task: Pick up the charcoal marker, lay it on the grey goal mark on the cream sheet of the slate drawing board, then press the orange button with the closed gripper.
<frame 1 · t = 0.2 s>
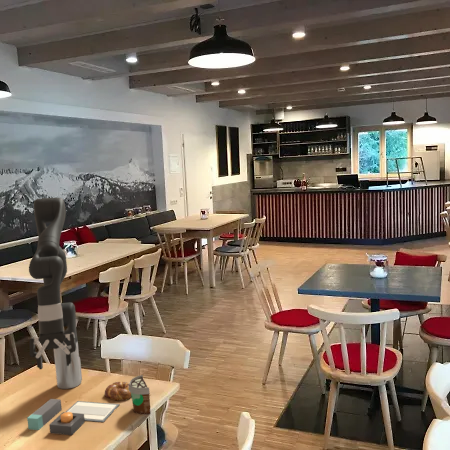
hand: (54, 367, 159), 21 cm above the table, tool pointing down, fingers open, 8 cm apart
done button: (66, 418, 162), point 3 cm above the table, slide at 0.0 cm
pretzel: (120, 395, 184), on the table
drawing board: (90, 411, 172), on the table
food container: (139, 410, 172), on the table
button housing: (67, 427, 162), on the table
marker: (47, 417, 170), on the table
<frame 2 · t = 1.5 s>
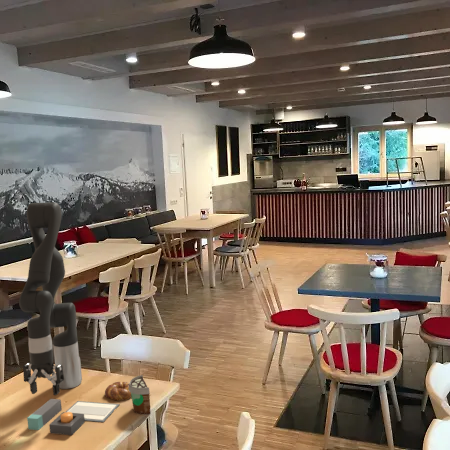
hand: (45, 393, 168), 9 cm above the table, tool pointing down, fingers open, 8 cm apart
nothing on the table moved.
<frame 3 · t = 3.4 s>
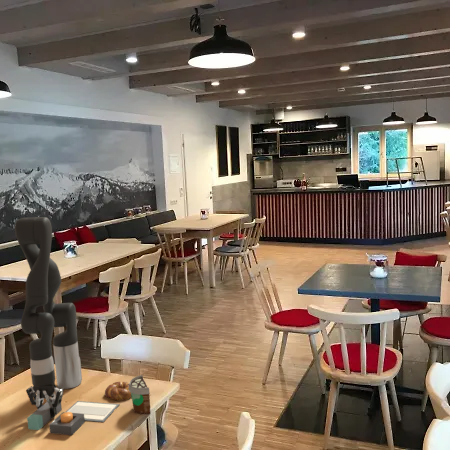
hand: (47, 416, 169), 0 cm above the table, tool pointing down, fingers closed on marker, 4 cm apart
marker: (47, 417, 169), on the table, touching gripper
everything else where it was.
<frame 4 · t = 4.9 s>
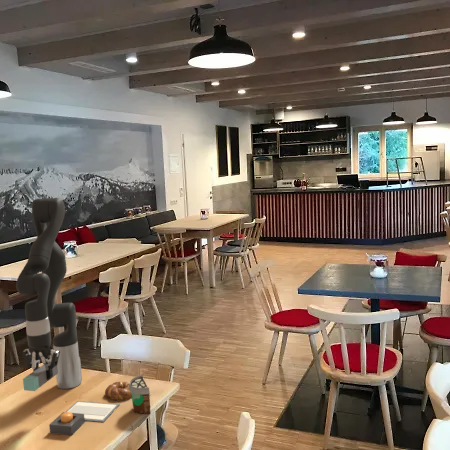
hand: (43, 378, 168), 14 cm above the table, tool pointing down, fingers closed on marker, 4 cm apart
marker: (43, 379, 168), point 14 cm above the table, touching gripper
everything else where it was.
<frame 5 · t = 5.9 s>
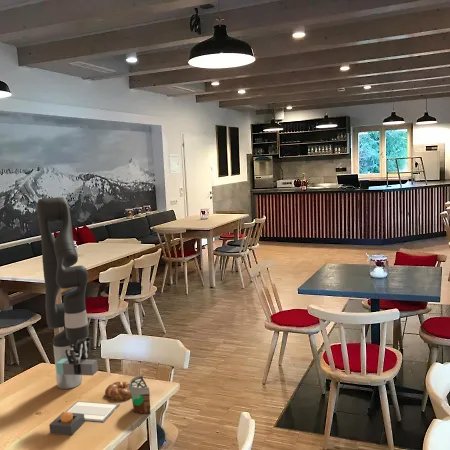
hand: (81, 371, 169), 15 cm above the table, tool pointing down, fingers closed on marker, 4 cm apart
marker: (80, 372, 170), point 15 cm above the table, touching gripper
everything else where it was.
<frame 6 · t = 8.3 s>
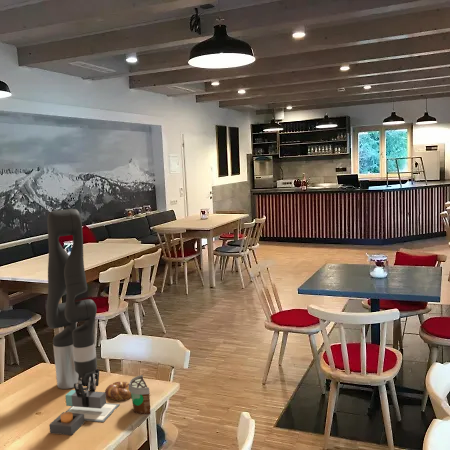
hand: (89, 403, 172), 3 cm above the table, tool pointing down, fingers closed on marker, 4 cm apart
marker: (89, 404, 172), point 3 cm above the table, touching gripper
everything else where it was.
when the fingers open (2 cm above the table, at t = 9.3 s): marker drops 1 cm, resting on drawing board.
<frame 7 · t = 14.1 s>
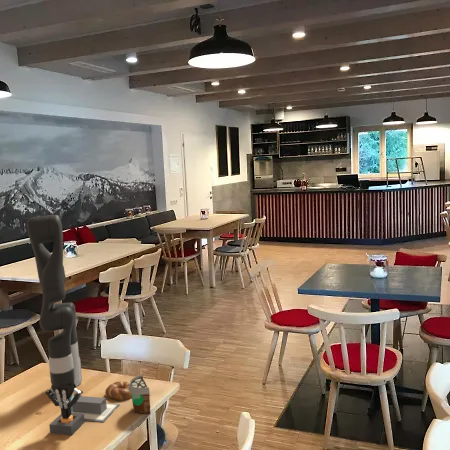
hand: (66, 417, 161), 4 cm above the table, tool pointing down, fingers closed
done button: (67, 420, 162), point 2 cm above the table, slide at 0.9 cm, touching gripper
marker: (89, 410, 172), resting on drawing board
everything else where it was.
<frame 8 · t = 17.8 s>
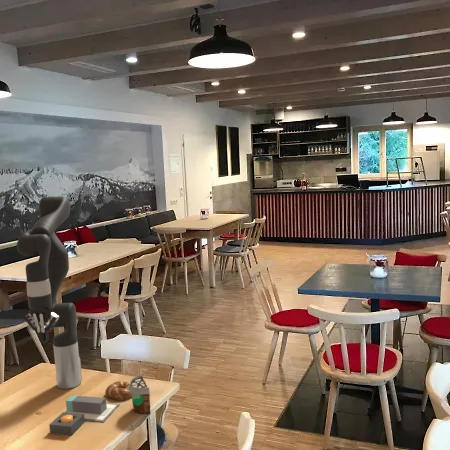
hand: (44, 341, 167), 27 cm above the table, tool pointing down, fingers closed
done button: (67, 421, 162), point 2 cm above the table, slide at 1.0 cm
everything else where it was.
at the end: marker 0.0 cm off-centre on the drawing board, point 0.5 cm above the drawing board's base; the gripper is holding nothing; done button slide at 1.0 cm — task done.
